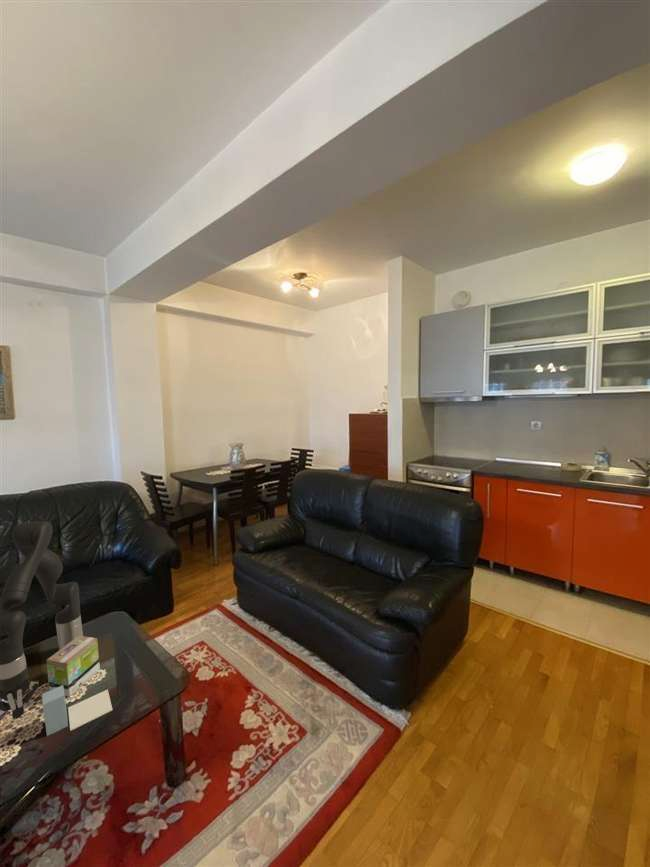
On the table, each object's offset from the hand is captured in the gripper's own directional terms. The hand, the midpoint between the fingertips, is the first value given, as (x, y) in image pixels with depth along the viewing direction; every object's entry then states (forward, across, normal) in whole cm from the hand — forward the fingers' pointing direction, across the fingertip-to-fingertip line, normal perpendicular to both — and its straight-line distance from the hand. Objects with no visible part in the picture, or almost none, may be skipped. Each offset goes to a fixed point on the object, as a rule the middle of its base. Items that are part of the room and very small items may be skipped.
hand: (18, 716), depth 123 cm
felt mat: (+10, -20, 0) cm, 22 cm away
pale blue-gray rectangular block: (+10, -10, 0) cm, 14 cm away
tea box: (+10, -17, -20) cm, 28 cm away
